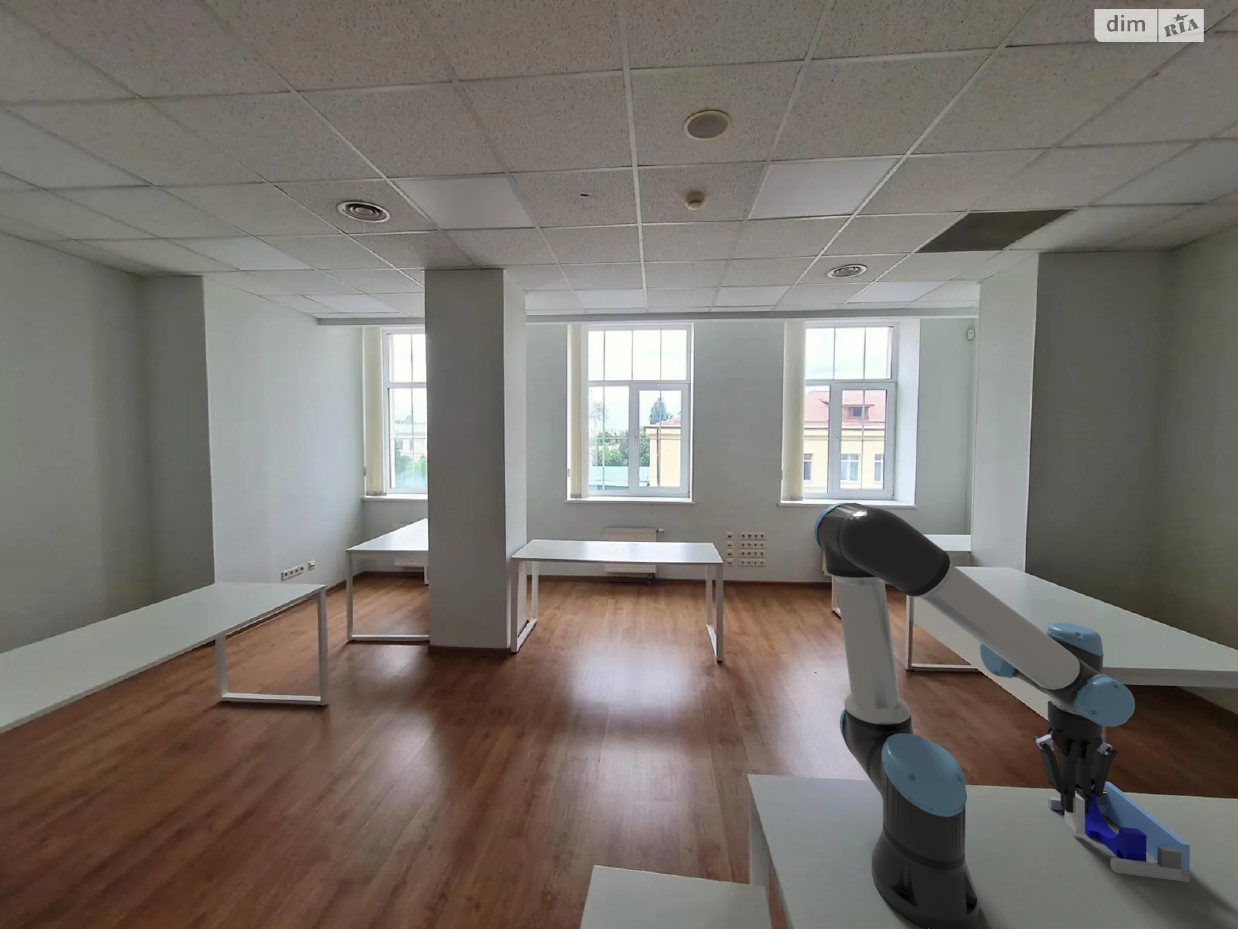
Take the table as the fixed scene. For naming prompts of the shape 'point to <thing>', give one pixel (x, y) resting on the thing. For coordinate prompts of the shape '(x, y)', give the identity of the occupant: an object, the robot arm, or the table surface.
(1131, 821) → the blue wall bracket
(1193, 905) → the table surface
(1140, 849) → the blue arched bracket piece
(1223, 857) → the table surface
